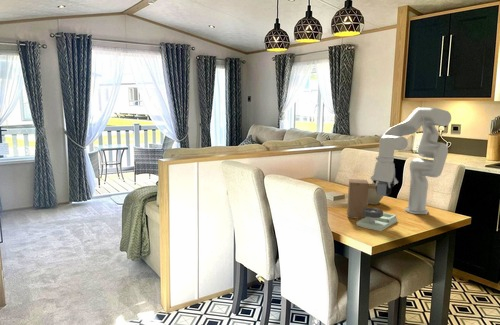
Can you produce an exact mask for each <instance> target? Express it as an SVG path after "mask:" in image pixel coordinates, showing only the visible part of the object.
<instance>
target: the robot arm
mask: <svg viewBox="0 0 500 325" xmlns="http://www.w3.org/2000/svg"><path fill="white" fill-rule="evenodd" d="M451 121H452V115H451V112H449V111H448V110H445V109H441V108H437V107H425V106H424V107H421V106H420V107H417V108H415V109H414V110H413V111H412V113H411V112H410V114H409V116H408V117H407V118H406V119H405V120H404V121H403V122H402V121H401V122H400V123H398V124H396V125H394V126H392V127H389V128H388V129H387V130H386V131H385V132H384V133H383V134H382V136H381V137H380V138H379V145H378V156H376V157H375V160H377V161H376V163H375V166H374V171H373V174H372V176H371V177H370V180H371V181H372V182H373V184H375V185H376V191H377V183H379V182H387V183H388V188H387V196H389V195H391V194H392V188H393V187H394V186H396V184H397V185H398V183H399V180H398V178H396V168H395V166H396V165H395V163H394V157H395V156H394V155H395V151H403V150H405V149H406V148H408V142H409V141H408V139H407V138H406V137H405V136H409V135H413V134H415V133H417V131H419V129H421V127H422V136H421V139H420V142H419V145H418V147H417V154H418V156H420V157H422V158H419V157H418V158H414V159H412V160H411V161H410V163H409V174H410V180H409V181H410V182H409V184H410V185H409V192H408V204H407V207H405V209H404V210H405V212H407V213H409V214H415V215H427V214H428V213H429V210H428V209H427V208H426V207H427V198H428V187H429V182H428V178H439V177H440V176H441V174H442V172H443V169H444V167H445V164H446V160H447V158H448V154H449V149H448V148H449V147H448V146H447V144H446V143H444V142H439V141H438V140H439V135H440V133H439V131H438V129H437V127H438V126H439V127H446V126H448V125H449V124H450V123H451ZM436 126H437V127H436ZM425 158H427V159H425ZM427 177H428V178H427Z"/></svg>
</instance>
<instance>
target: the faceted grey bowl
mask: <svg viewBox="0 0 500 325" xmlns="http://www.w3.org/2000/svg"><path fill="white" fill-rule="evenodd" d="M373 211H376V212H373ZM383 212H384V211H383V210H382V209H380V208H376V207H367V208H366V209H363V214H364V215H365V216H367V217H371V218H380V217H382V216H383Z"/></svg>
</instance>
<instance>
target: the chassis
mask: <svg viewBox="0 0 500 325" xmlns="http://www.w3.org/2000/svg"><path fill="white" fill-rule="evenodd" d="M373 212H376V211H373ZM397 222H398V217H397V214H392V213H388V212H384V211H383V216H382V217H380V218H371V217H367V216H366V217H365V218H360V219H358V220H357V221H356V226H357V227H362V228H365V229H370V230H373V231H378V232H382V231H384V230H386V229H387V228H389V227H390V226H392V225H394V224H395V223H397Z"/></svg>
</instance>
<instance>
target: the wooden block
mask: <svg viewBox="0 0 500 325" xmlns="http://www.w3.org/2000/svg"><path fill="white" fill-rule="evenodd" d="M368 189H369V181H368V180H367V179H358V178H357V179H356V178H355V179H354V178H349V179H348V192H347V207H346V208H347V209H346V212H347V218H350V219H351V218H352V219H353V218H354V219H363V218H365V217H366V216H365V215H364V214H363V209H366V208H368V204H367V203H368Z"/></svg>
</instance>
